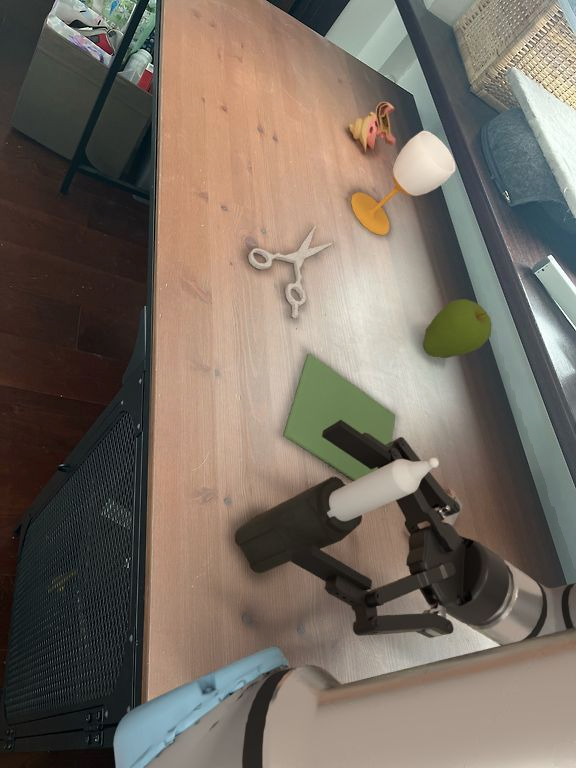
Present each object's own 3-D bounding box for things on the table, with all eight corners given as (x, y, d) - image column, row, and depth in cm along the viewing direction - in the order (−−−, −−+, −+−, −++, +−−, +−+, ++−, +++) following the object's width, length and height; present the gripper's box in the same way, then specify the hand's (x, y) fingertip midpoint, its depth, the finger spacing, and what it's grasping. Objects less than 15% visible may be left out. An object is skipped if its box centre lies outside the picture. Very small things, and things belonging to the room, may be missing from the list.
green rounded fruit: (441, 334, 106) (496, 299, 98) (450, 377, 102) (509, 343, 94) (405, 319, 101) (460, 281, 93) (414, 363, 97) (471, 327, 89)
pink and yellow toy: (344, 149, 116) (354, 94, 113) (345, 153, 125) (355, 103, 123) (393, 157, 115) (404, 102, 112) (390, 161, 125) (400, 110, 122)
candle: (230, 534, 64) (403, 445, 46) (262, 511, 67) (434, 421, 50) (256, 577, 63) (441, 504, 46) (287, 552, 67) (469, 475, 50)
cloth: (380, 498, 79) (383, 497, 79) (283, 435, 74) (285, 434, 74) (393, 415, 88) (395, 414, 88) (307, 354, 83) (309, 352, 83)
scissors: (242, 258, 82) (304, 205, 97) (239, 262, 83) (301, 208, 97) (296, 316, 84) (350, 255, 98) (293, 319, 84) (346, 258, 99)
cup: (396, 230, 113) (464, 172, 102) (371, 239, 106) (442, 177, 95) (368, 190, 113) (433, 127, 102) (342, 196, 107) (409, 129, 96)
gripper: (445, 726, 56) (257, 630, 49) (458, 496, 72) (318, 399, 65) (514, 721, 51) (316, 613, 44) (512, 475, 67) (366, 367, 60)
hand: (317, 485), depth 54 cm, fingers open, 12 cm apart
